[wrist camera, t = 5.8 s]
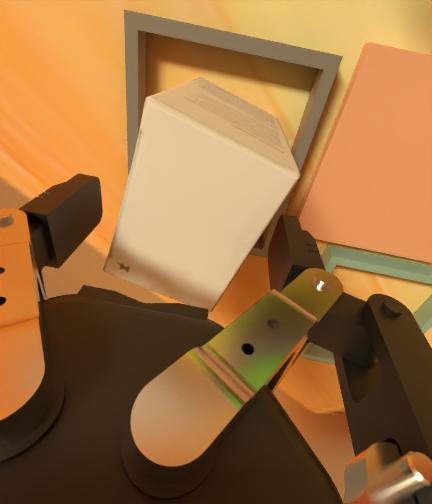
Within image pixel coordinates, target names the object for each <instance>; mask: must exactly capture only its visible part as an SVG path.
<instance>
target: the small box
mask: <svg viewBox="0 0 432 504" xmlns="http://www.w3.org/2000/svg"><path fill="white" fill-rule="evenodd" d="M299 179H300V172H299V170H298V168H297V165H296V162H295V160H294V158H293V155H292V153H291V151H290V148H289V145H288V143H287V141H286V138H285V136H284V133H283V131H282V128H281V126H280V124H279V121H278V119H277V118H276V117H274V116H272V115H271V114H269V113H267V112H265V111H264V110H262V109H260V108H258V107H256V106H254V105H252V104H251V103H249V102H247V101H245V100H243V99H241V98H239V97H237V96H236V95H234V94H232V93H230V92H228V91H226V90H224V89H223V88H221V87H219V86H217V85H215V84H213V83H211V82H209V81H207V80H205V79H203V78H198V79H196V80H193V81H190V82H187V83H184V84H181V85H178V86H175V87H173V88H170V89H168V90H165V91H162V92H159V93H157V94H154V95H151V96H148V97H147V98H146V100H145V103H144V109H143V114H142V119H141V124H140V130H139V135H138V139H137V144H136V148H135V153H134V157H133V161H132V165H131V169H130V173H129V177H128V181H127V185H126V189H125V194H124V198H123V202H122V206H121V210H120V213H119V217H118V221H117V225H116V229H115V233H114V236H113V240H112V243H111V247H110V250H109V254H108V256H107V259H106V262H105V265H104V268H103V270H104V271H105V272H107V273H109V274H111V275H114V276H117V277H119V278H121V279H124V280H126V281H129V282H131V283H134V284H136V285H139V286H141V287H144V288H147V289H149V290H152V291H154V292H157V293H159V294H162V295H164V296H167V297H170V298H172V299H175V300H177V301H180V302H182V303H185V304H187V305H190V306H196V307H201V308H206V309H209V311H208V312H212V310H213V309H214V307H215V306H216V304H217V303H218V301H219V300H220V298H221V297H222V295H223V293H224V292H225V290H226V289H227V287H228V286H229V284H230V283H231V281H232V280H233V278H234V277H235V275H236V274H237V272H238V271H239V269H240V268H241V266H242V264H243V263H244V261H245V260H246V258H247V257H248V255H249V254H250V252H251V251H252V249H253V248H254V246H255V245H256V243H257V242H258V240H259V239H260V237H261V236H262V234H263V232H264V231H265V229H266V228H267V226H268V225H269V223H270V222H271V220H272V219H273V217H274V216H275V214H276V213H277V211H278V210H279V208H280V207H281V205H282V204H283V202H284V201H285V199H286V198H287V196H288V195H289V193H290V192H291V190H292V189H293V187H294V186H295V184H296V183H297V182H298V180H299Z"/></svg>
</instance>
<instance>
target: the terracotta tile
mask: <svg viewBox="0 0 432 504" xmlns="http://www.w3.org/2000/svg"><path fill="white" fill-rule="evenodd" d="M296 217H297V218H298V219H299V222H300V225H301V228H302V230H305V231H308V232H309V233H310V234H311V235H312V236H313V237H314V239H318V240H323V241H328V242H333V243H338V244H342V245H347V246H352V247H357V248H362V249H367V250H371V251H376V252H381V253H386V254H391V255H396V256H400V257H405V258H410V259H415V260H420V261H425V262H430V263H432V56H430V55H426V54H421V53H416V52H412V51H407V50H402V49H398V48H393V47H388V46H384V45H379V44H374V43H365V46H364V48H363V51H362V53H361V56H360V58H359V61H358V63H357V66H356V68H355V71H354V73H353V76H352V78H351V81H350V83H349V86H348V88H347V91H346V93H345V96H344V98H343V101H342V103H341V106H340V108H339V111H338V113H337V116H336V118H335V121H334V123H333V126H332V128H331V131H330V133H329V136H328V138H327V141H326V143H325V146H324V149H323V151H322V154H321V156H320V159H319V161H318V164H317V166H316V169H315V171H314V174H313V176H312V179H311V181H310V184H309V186H308V189H307V191H306V194H305V196H304V199H303V201H302V204H301V206H300V209H299V211H298V214H297V216H296Z"/></svg>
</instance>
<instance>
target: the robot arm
mask: <svg viewBox="0 0 432 504" xmlns="http://www.w3.org/2000/svg"><path fill="white" fill-rule="evenodd" d="M102 212H103V210H102V198H101V187H100V181H99V179H98V177H94V176H89V175H84V174H77V175H76V176H74V177H73V178H71V179H70V180H68V181H67V182H64V183H61V184H58V185H54V186H52V187H51V188H49V189H48V190H46V191H45V193H44V192H43V193H42V194H40V195H39V197H36V198H34V199H33V200H31V201H30V202H29V203H27V204H25V205H24V206H23V207H21V208H20V209H12V208H2V209H0V504H432V348H431V347H430V345H429V343H428V341H427V339H426V338H425V336H424V334H423V332H422V331H421V329H420V327H419V325H418V323H417V322H416V320H415V318H414V316H413V315H412V313H411V312H410V310H409V309H408V308H407V307H406V306H405V305H403V304H402V303H401V302H399V301H398V300H396V299H394V298H392V297H390V296H387V295H383V294H373V295H371V296H370V297H369V299H368V300H367V301H366V302H365V301H363V300H361V299H358V298H356V297H353V296H351V295H349V294H346V293H345V292H343V285H342V283H341V282H340V280H339V279H338V278H337V277H335V276H334V275H333V274H331V273H329V272H327V271H326V269H325V267H324V264H323V261H322V258H321V255H320V253H319V250H318V247H317V244H316V241H315V239H314V237H313V236H312V235H311V234H310V233H309V232H308V231H305V230H302V228H301V225H300V222H299V219H298V218H297V217H292V216H287V215H282V214H281V215H280V217H279V219H278V221H277V224H276V227H275V230H274V233H273V236H272V238H271V241H270V244H269V248H268V267H269V278H270V289H271V291H270V292H269V293H268V294H266V295H265V296H264V297H263V298H261V299H260V300H259V301H258V302H257V303H255V304H254V305H253V306H252V307H250V308H249V309H248V310H247V311H246V312H244V313H243V314H242V315H241V316H239V317H238V318H237V319H236V320H235V321H233V322H232V323H231V324H230V325H228V326H227V327H226V328H223V327H222V326H221V325H219V324H217V323H216V322H214V321H212V320H210V319H208V318H207V317H208V311H209V309H206V308H201V307H196V306H190V305H185V304H180V303H152V304H151V303H147V304H146V303H142V302H139V301H137V300H134V299H132V298H130V297H127V296H125V295H123V294H121V293H118V292H116V291H112V290H107V289H101V288H96V287H91V286H86V285H83V287H82V288H81V290H80V291H79V292H78V294H70V295H62V296H57V297H53V298H49V299H48V297H47V292H46V287H45V281H44V276H43V272H42V268H43V267H44V266H49V267H55V268H59V267H61V265H62V264H63V263H64V262H65V261H66V260H67V259H68V257H69V256H70V255H71V254H72V253H73V252H74V251H75V249H77V247H78V246H79V245H80V244H81V243H82V242H83V241H84V240H85V238H86V237H87V236H88V235H89V234H90V233H91V232H92V231H93V229H94V228H95V227H96V226H97V225H98V224H99V222H100V221H101V218H102ZM310 343H314V344H316V345H318V346H320V347H322V348H324V349H326V350H328V351H330V352H332V353H333V356H334V361H335V366H336V370H337V375H338V379H339V384H340V389H341V393H342V398H343V402H344V407H345V412H346V416H347V420H348V425H349V430H350V434H351V439H352V444H353V449H354V453H355V458H353V459H352V460H351V461H349V463H348V464H347V466H346V469H345V473H344V484H345V493H344V498H343V502H342V499H341V497H340V494H339V492H338V490H337V488H336V486H335V484H334V483H333V481H332V479H331V477H330V476H329V474H328V473H327V471H326V470H325V468H324V467H323V465H322V464H321V462H320V461H319V459H318V458H317V457H316V455H315V454H314V452H313V451H312V449H311V448H310V446H309V445H308V443H307V442H306V441H305V439H304V438H303V436H302V435H301V433H300V432H299V430H298V429H297V427H296V426H295V424H294V423H293V422H292V420H291V419H290V417H289V416H288V414H287V413H286V411H285V410H284V409H283V407H282V406H281V404H280V403H279V401H278V400H277V398H276V397H275V395H274V394H273V392H274V391H275V390H276V388H277V387H278V385H279V384H280V383H281V381H282V380H283V378H284V377H285V375H286V374H287V373H288V371H289V370H290V369H291V368H292V366H293V365H294V364H295V362H296V361H297V360H298V359H299V357H300V356H301V355H302V353H303V352H304V351H305V350H306V348H307V347H308V346H309V344H310Z"/></svg>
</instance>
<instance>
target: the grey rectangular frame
mask: <svg viewBox="0 0 432 504" xmlns="http://www.w3.org/2000/svg"><path fill="white" fill-rule="evenodd" d="M124 25H125V64H126V103H127V142H128V177H129V173H130V169H131V165H132V161H133V157H134V153H135V148H136V144H137V139H138V135H139V130H140V124H141V119H142V114H143V109H144V103H145V100H146V51H147V32H149V33H154V34H159V35H163V36H168V37H173V38H178V39H182V40H187V41H192V42H196V43H201V44H206V45H210V46H215V47H220V48H224V49H229V50H234V51H238V52H243V53H248V54H253V55H257V56H262V57H267V58H271V59H276V60H281V61H285V62H290V63H295V64H299V65H304V66H309V67H314V68H318V71H317V74H316V77H315V80H314V83H313V86H312V89H311V92H310V96H309V99H308V102H307V105H306V108H305V111H304V114H303V117H302V120H301V123H300V126H299V129H298V132H297V135H296V138H295V141H294V144H293V147H292V150H291V153H292V155H293V158H294V160H295V162H296V165H297V168H298V170H299V172H300V171H301V169H302V166H303V163H304V161H305V158H306V155H307V152H308V150H309V147H310V144H311V141H312V139H313V136H314V133H315V131H316V128H317V125H318V122H319V120H320V117H321V114H322V111H323V109H324V106H325V103H326V100H327V98H328V95H329V92H330V90H331V87H332V84H333V81H334V79H335V76H336V73H337V70H338V68H339V65H340V62H341V60H342V57H343V56H339V55H334V54H329V53H325V52H320V51H315V50H311V49H306V48H301V47H297V46H292V45H287V44H283V43H278V42H273V41H269V40H264V39H259V38H254V37H250V36H245V35H240V34H236V33H231V32H226V31H222V30H217V29H212V28H208V27H203V26H198V25H194V24H189V23H184V22H180V21H175V20H170V19H166V18H161V17H156V16H152V15H147V14H142V13H138V12H133V11H128V10H124ZM295 185H296V184H295ZM294 188H295V186H294V187H293V189H292V190H291V192H290V193H289V195H288V196H287V198H286V199H285V201H284V202H283V204H282V205H281V207H280V208H279V210H278V211H277V213H276V214H275V216H274V217H273V219H272V220H271V222H270V223H269V225H268V226H267V228H266V229H265V232H264V235H263V238H262V239H259V240H258V242H257V243H256V245H255V246H254V248H253V249H252V251H251V252H250V254H251V255H256V256H261V257H266V258H268V248H269V244H270V241H271V238H272V236H273V233H274V230H275V227H276V224H277V221H278V219H279V217H280V215H281V214H282V215H285V212H286V210H287V207H288V204H289V201H290V199H291V196H292V193H293V191H294Z"/></svg>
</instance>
